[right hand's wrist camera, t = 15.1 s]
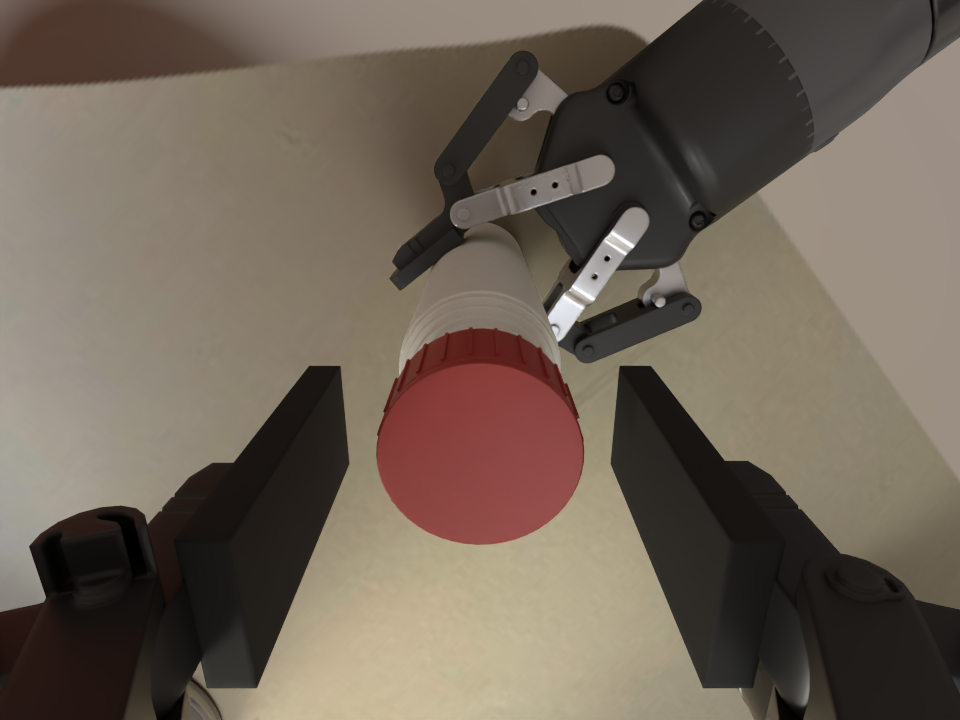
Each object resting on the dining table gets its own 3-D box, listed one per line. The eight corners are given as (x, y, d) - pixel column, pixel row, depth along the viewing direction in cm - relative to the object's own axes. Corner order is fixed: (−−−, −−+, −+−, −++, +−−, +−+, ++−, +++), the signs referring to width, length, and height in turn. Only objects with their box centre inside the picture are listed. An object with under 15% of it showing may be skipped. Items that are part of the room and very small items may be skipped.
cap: (417, 502, 15) (406, 562, 13) (367, 348, 14) (346, 386, 12) (583, 469, 15) (601, 525, 13) (552, 306, 14) (566, 338, 11)
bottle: (457, 206, 31) (419, 306, 12) (538, 243, 32) (630, 397, 12) (423, 287, 33) (339, 495, 13) (501, 320, 33) (530, 566, 14)
